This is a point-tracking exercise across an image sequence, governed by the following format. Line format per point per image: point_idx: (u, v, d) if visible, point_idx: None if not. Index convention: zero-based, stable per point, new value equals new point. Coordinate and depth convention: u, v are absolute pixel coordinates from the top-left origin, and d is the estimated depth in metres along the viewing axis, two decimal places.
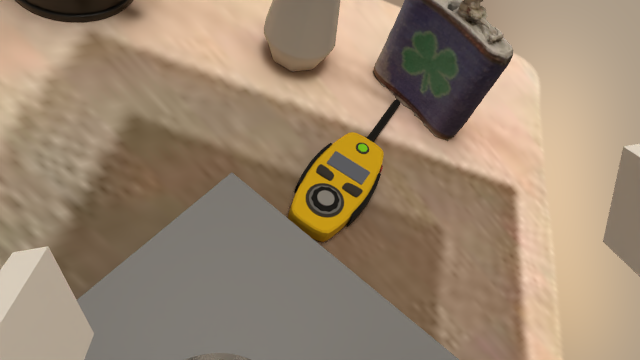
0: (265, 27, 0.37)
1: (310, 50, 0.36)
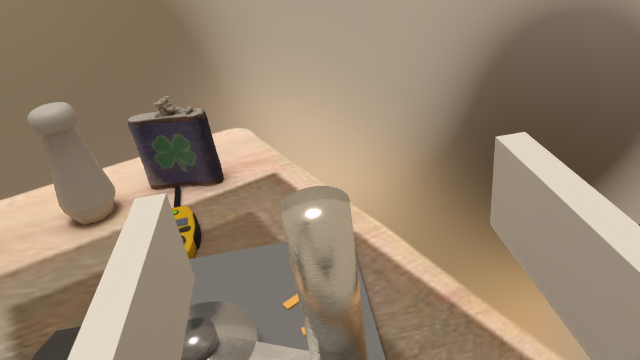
0: (62, 208, 0.50)
1: (101, 196, 0.51)
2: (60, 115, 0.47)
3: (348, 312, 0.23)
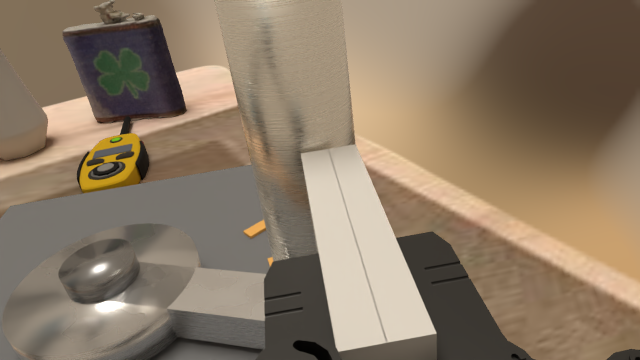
0: None
1: (26, 122, 0.40)
2: None
3: None
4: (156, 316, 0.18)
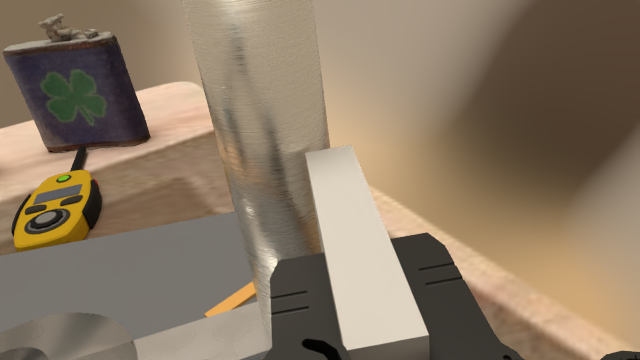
0: None
1: None
2: None
3: None
4: None
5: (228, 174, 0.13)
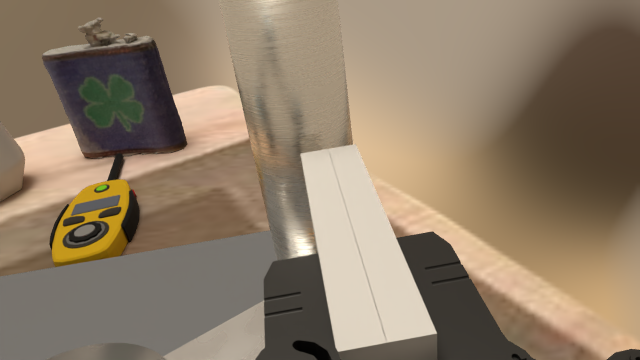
0: None
1: None
2: None
3: None
4: None
5: (267, 162, 0.14)
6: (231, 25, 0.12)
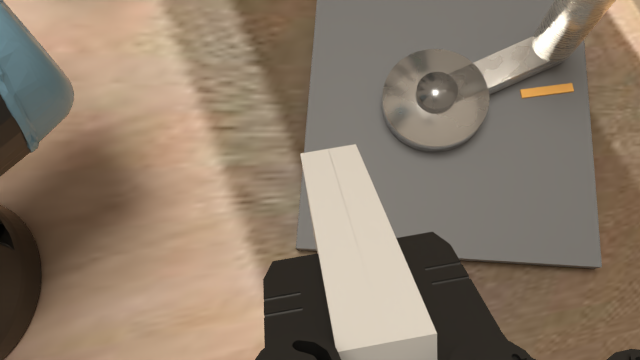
0: None
1: None
2: None
3: None
4: (488, 94, 0.36)
5: (574, 3, 0.30)
6: None
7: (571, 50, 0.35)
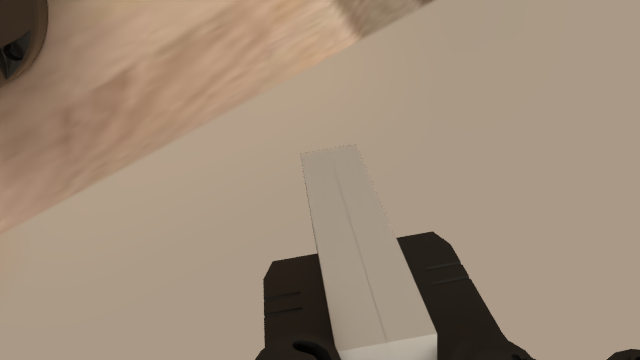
0: None
1: None
2: None
3: None
4: None
5: None
6: None
7: None
